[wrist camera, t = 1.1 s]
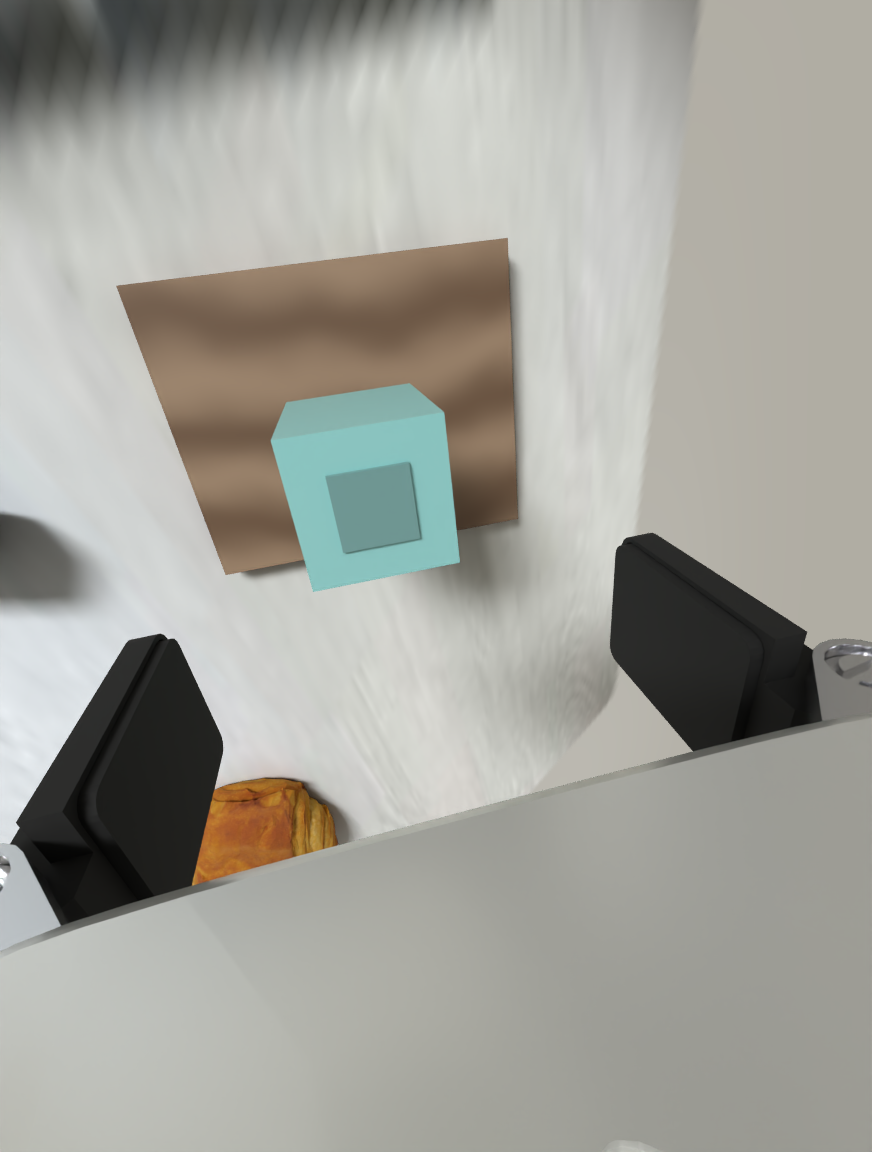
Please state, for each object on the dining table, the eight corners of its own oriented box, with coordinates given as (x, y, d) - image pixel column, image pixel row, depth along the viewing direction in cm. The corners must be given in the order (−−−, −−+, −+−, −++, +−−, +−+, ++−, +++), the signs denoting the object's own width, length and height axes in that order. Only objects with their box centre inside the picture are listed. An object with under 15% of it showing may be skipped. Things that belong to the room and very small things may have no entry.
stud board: (129, 287, 28) (29, 275, 19) (497, 242, 31) (574, 211, 21) (230, 562, 37) (198, 649, 27) (509, 509, 40) (567, 572, 30)
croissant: (329, 837, 57) (340, 908, 51) (179, 870, 52) (172, 954, 45) (335, 750, 51) (349, 819, 44) (164, 777, 45) (152, 861, 39)
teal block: (286, 402, 23) (270, 441, 16) (409, 383, 24) (445, 413, 17) (315, 518, 26) (313, 594, 19) (425, 498, 27) (461, 564, 20)
